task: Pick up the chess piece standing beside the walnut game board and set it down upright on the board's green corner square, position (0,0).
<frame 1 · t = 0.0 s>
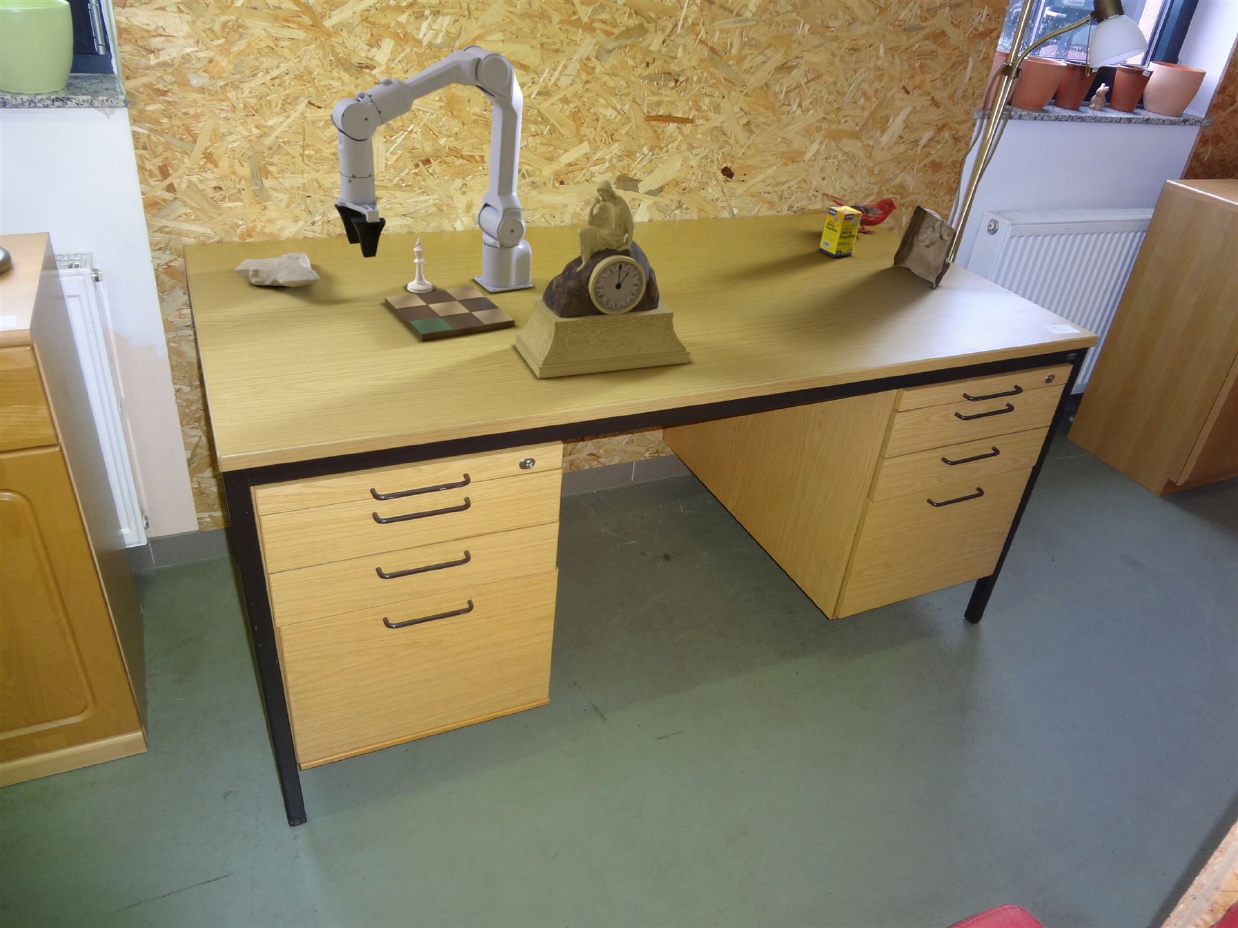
hand: (362, 249, 157), 10 cm above the table, tool pointing down, fingers open, 7 cm apart
chess piece: (420, 289, 170), on the table
game board: (448, 315, 161), on the table
decorative bird figurine: (858, 230, 235), on the table
decorative clock: (602, 355, 153), on the table
supplement box: (834, 253, 216), on the table
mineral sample: (918, 277, 206), on the table
rock: (278, 282, 167), on the table
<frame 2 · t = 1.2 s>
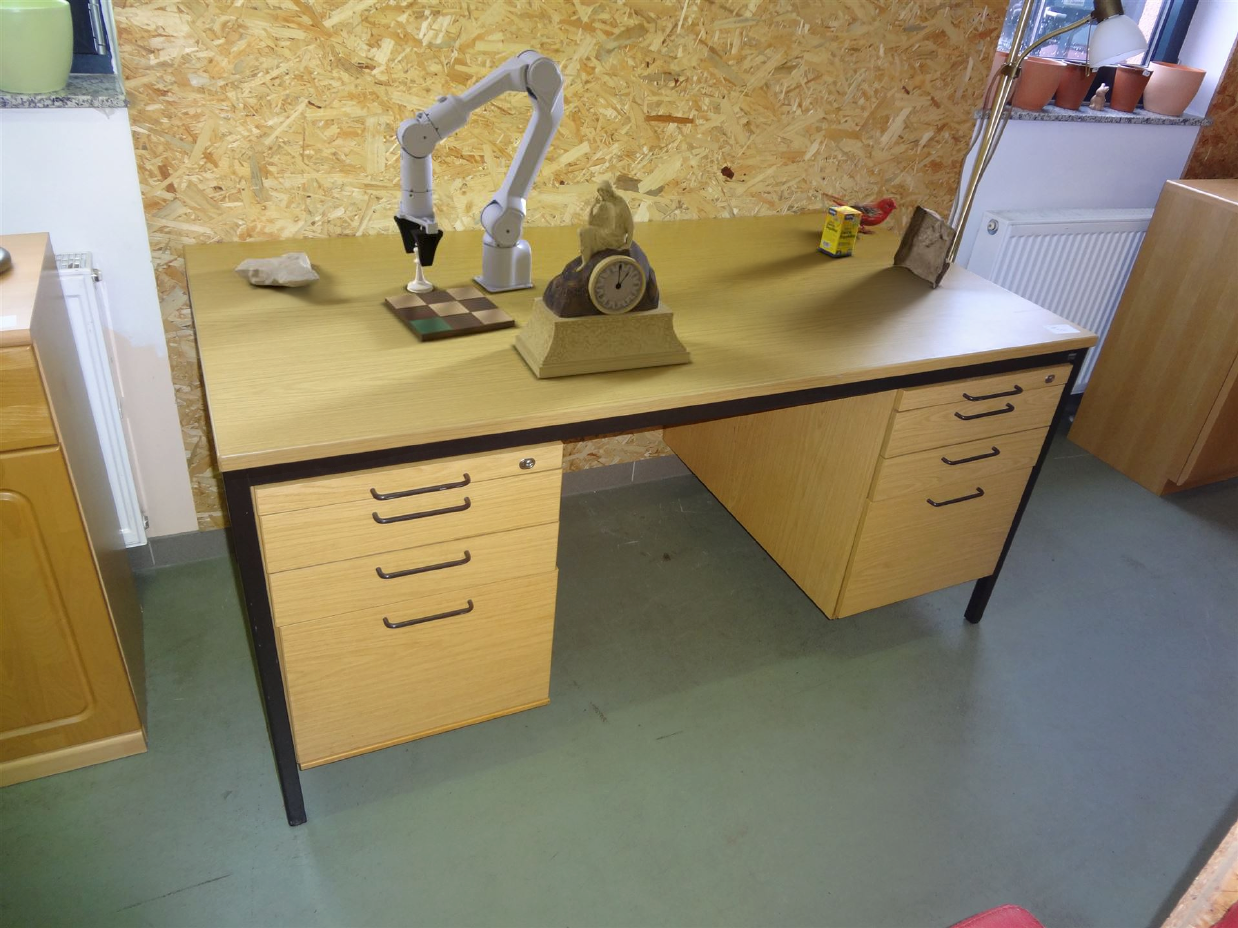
hand: (418, 259, 167), 6 cm above the table, tool pointing down, fingers open, 7 cm apart
nothing on the table moved.
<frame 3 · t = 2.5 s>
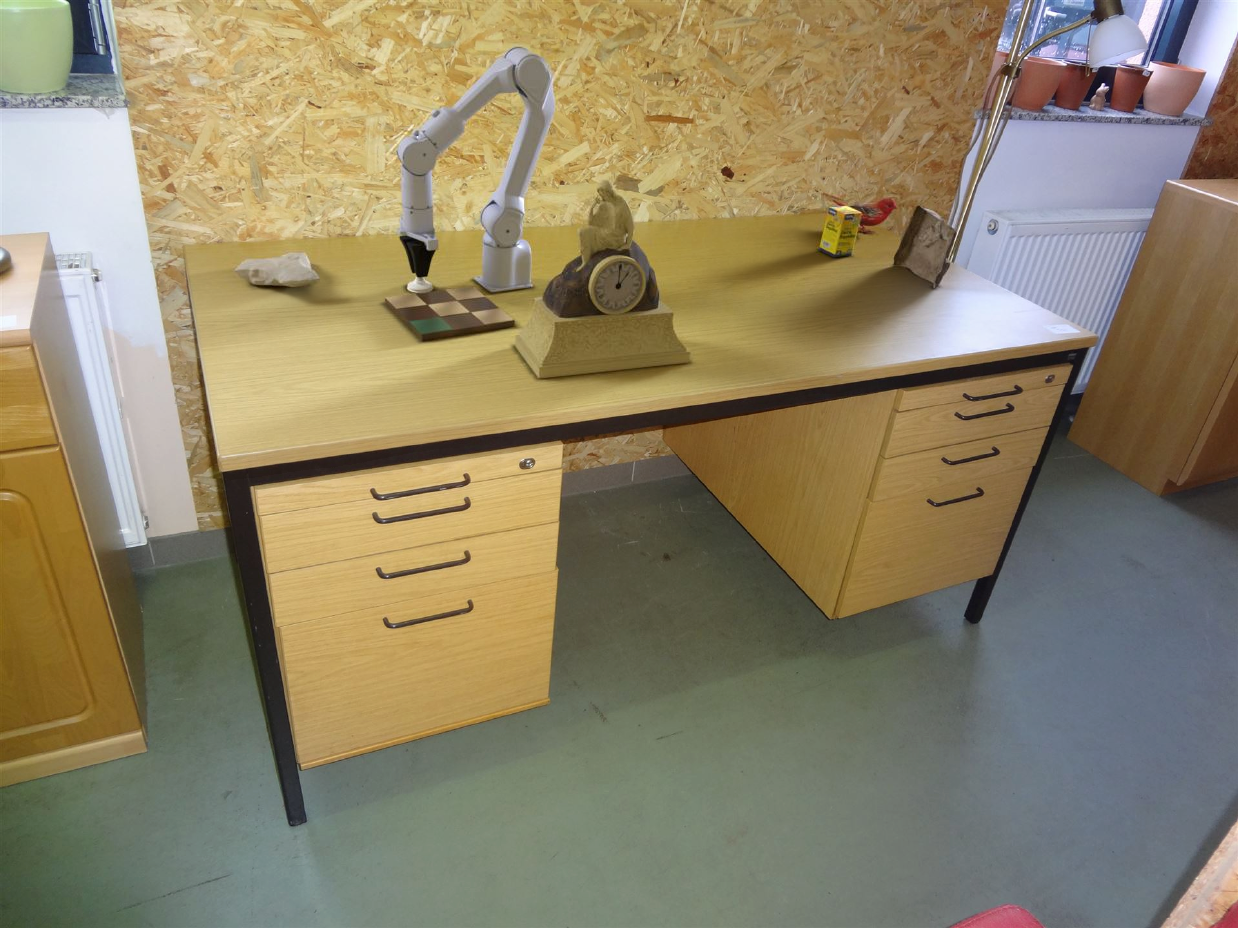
hand: (419, 274, 169), 3 cm above the table, tool pointing down, fingers closed on chess piece
chess piece: (420, 289, 170), on the table, touching gripper
everything else where it was.
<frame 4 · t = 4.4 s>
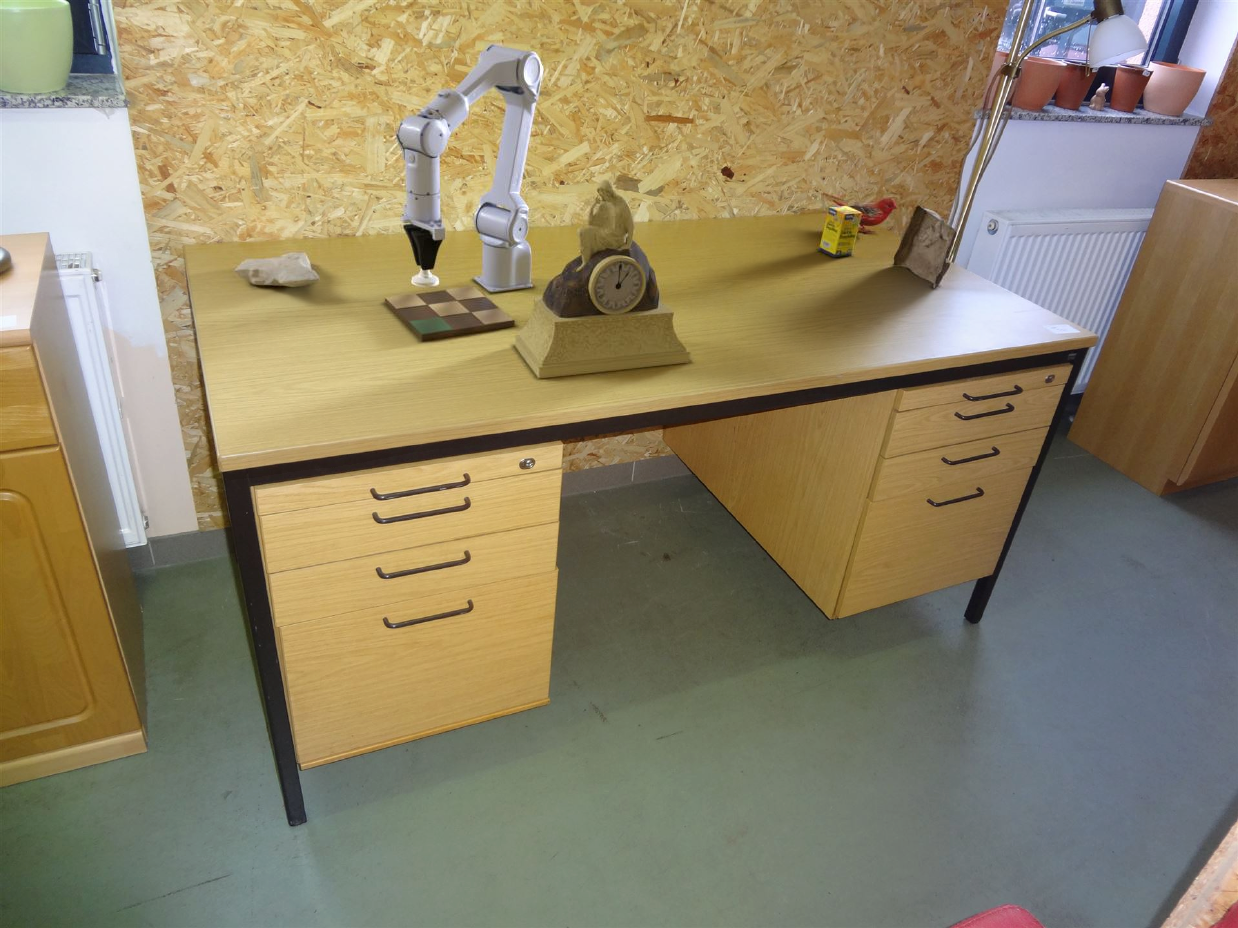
hand: (424, 267, 156), 9 cm above the table, tool pointing down, fingers closed on chess piece
chess piece: (425, 283, 157), point 6 cm above the table, touching gripper
everything else where it was.
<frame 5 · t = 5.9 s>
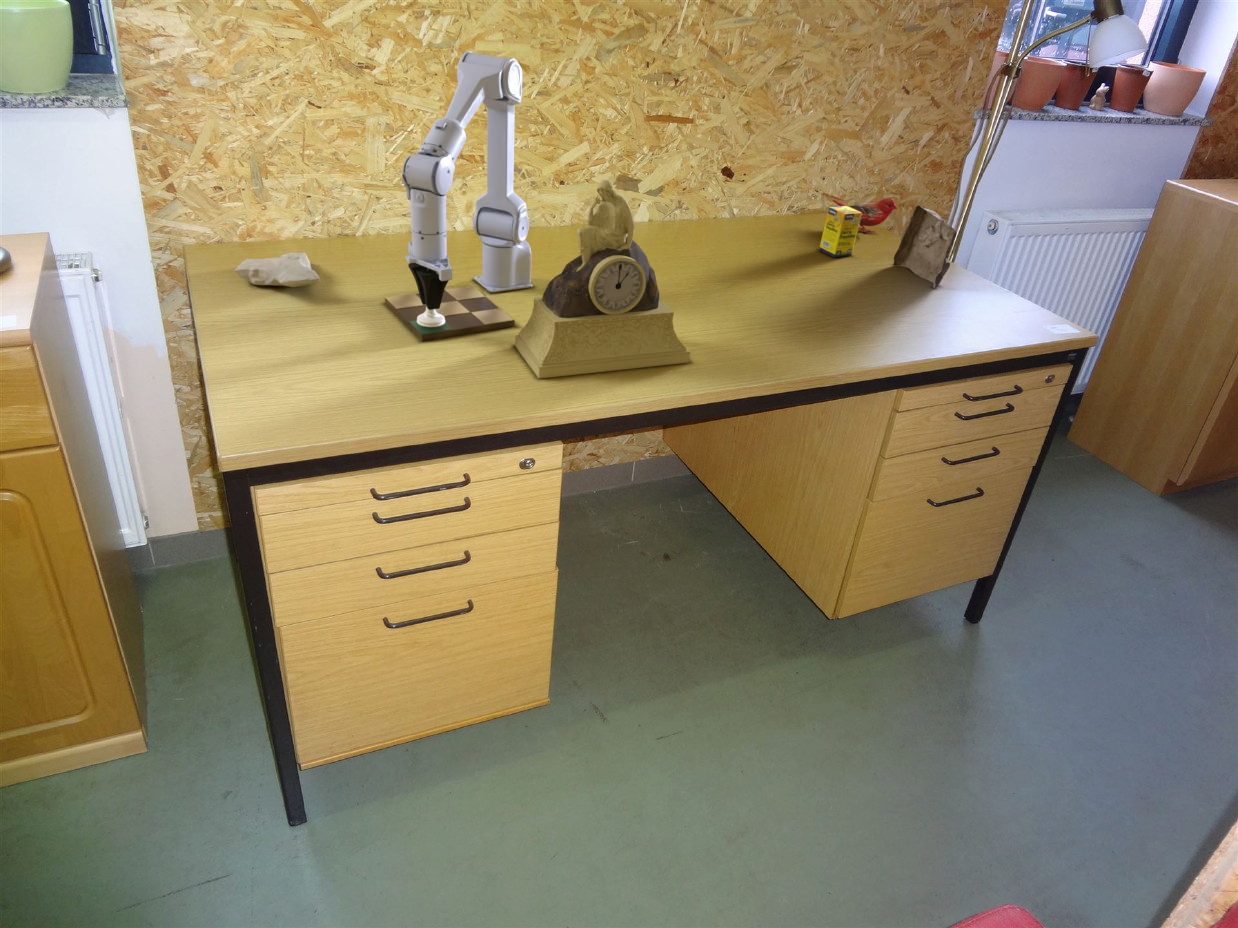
hand: (430, 306, 151), 5 cm above the table, tool pointing down, fingers closed on chess piece
chess piece: (431, 322, 153), point 2 cm above the table, touching gripper
everything else where it was.
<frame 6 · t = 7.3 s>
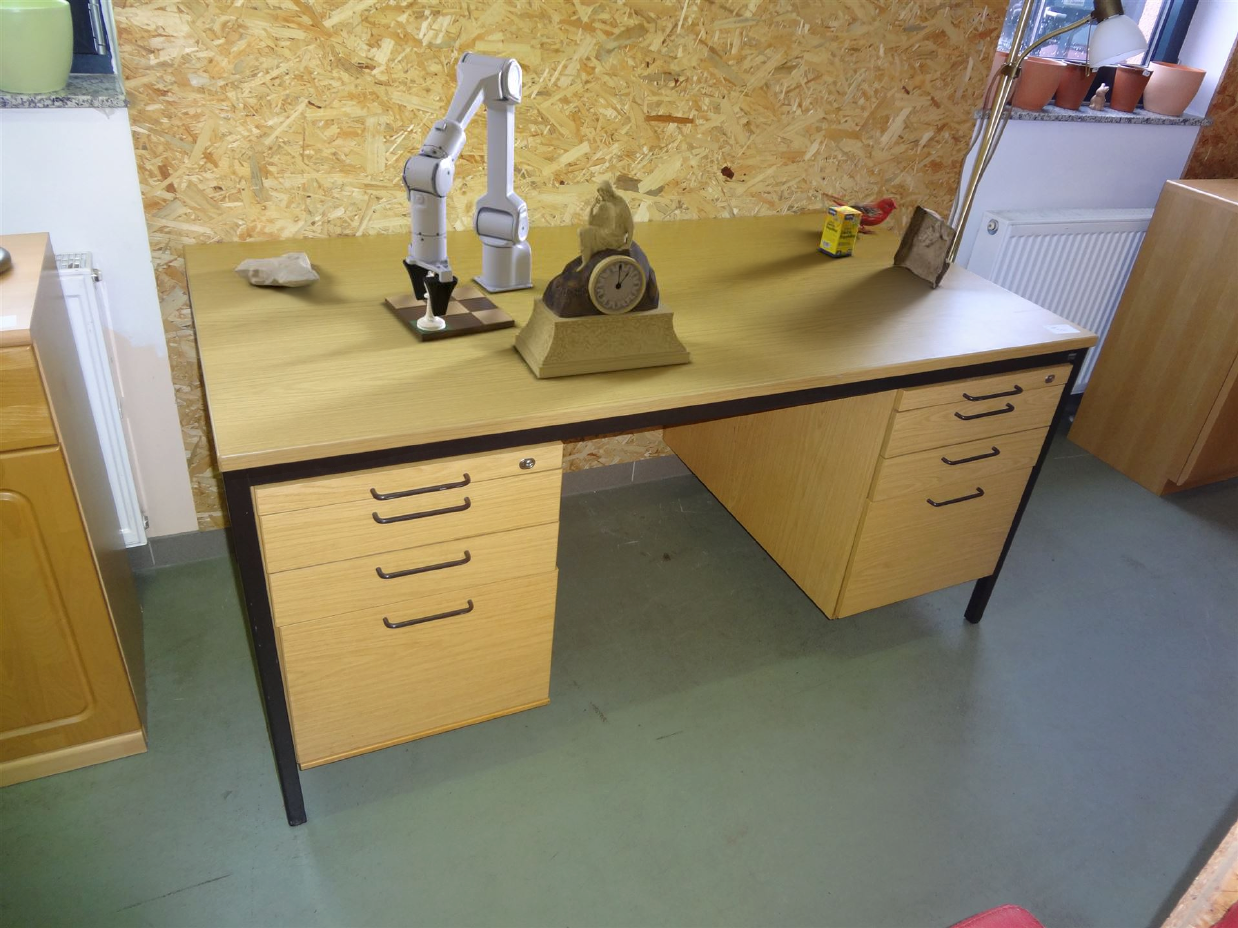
hand: (430, 307, 151), 5 cm above the table, tool pointing down, fingers open, 7 cm apart
chess piece: (431, 326, 153), point 1 cm above the table, touching game board
everything else where it was.
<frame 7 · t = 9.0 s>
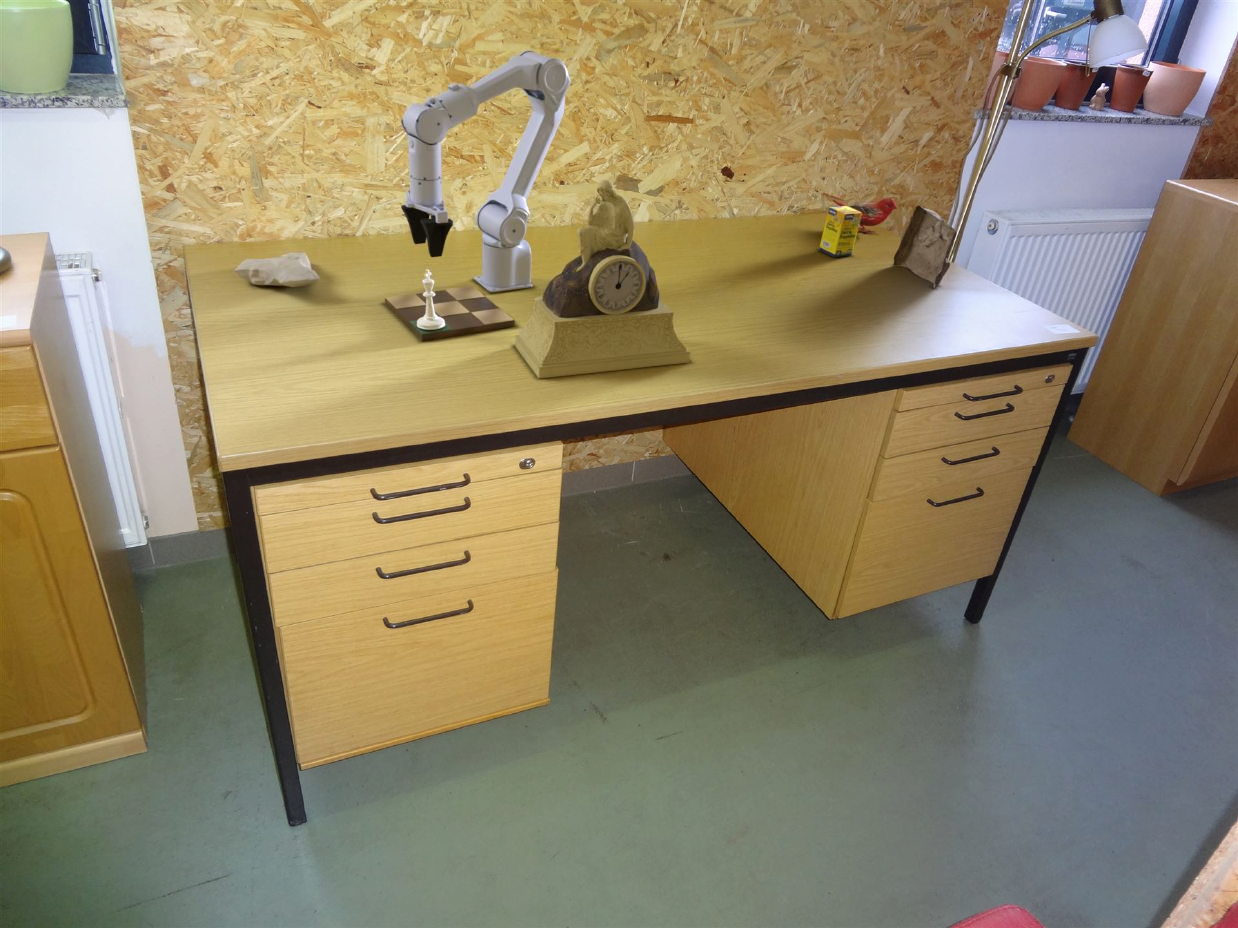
hand: (427, 249, 162), 9 cm above the table, tool pointing down, fingers open, 7 cm apart
nothing on the table moved.
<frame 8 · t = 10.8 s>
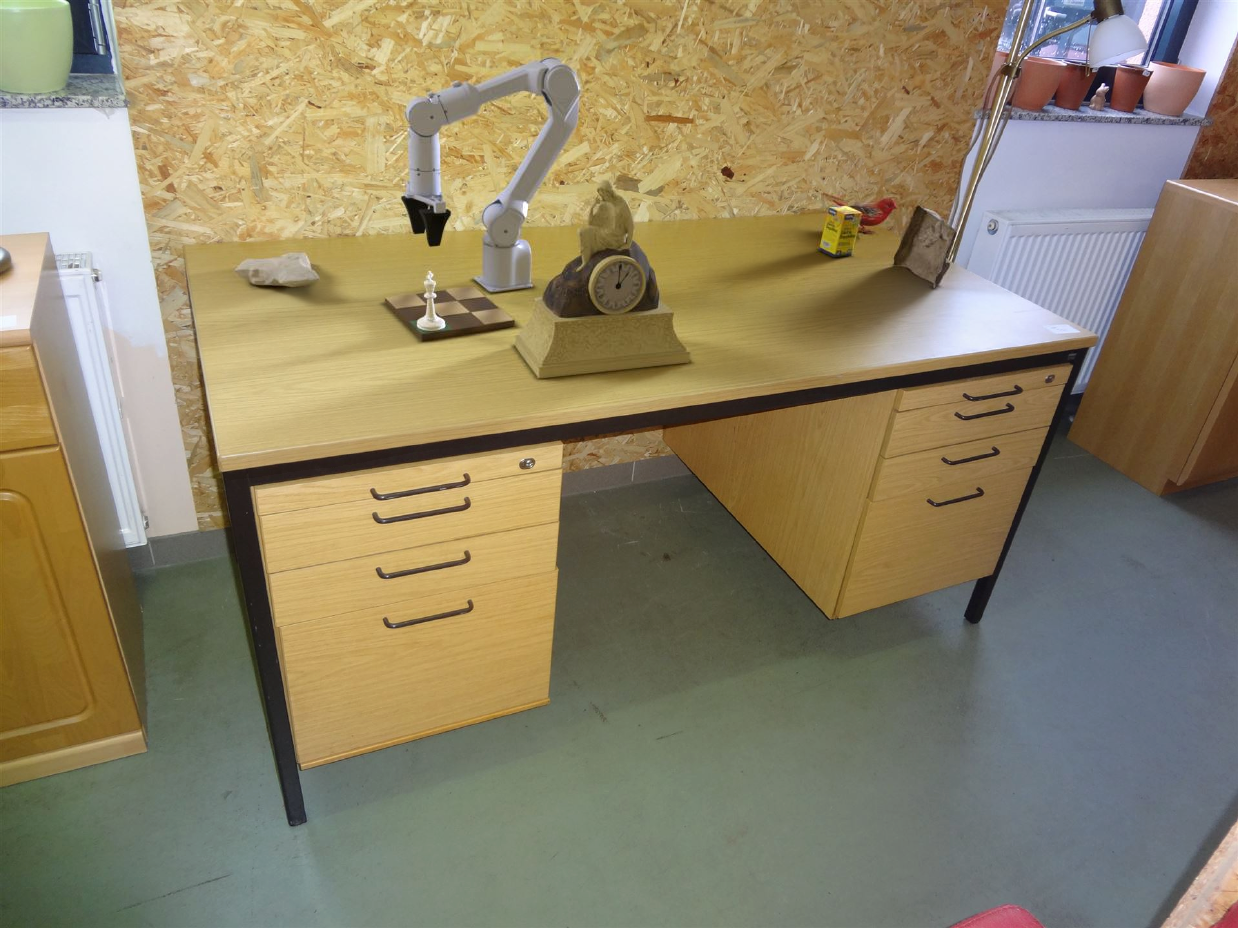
hand: (426, 239, 167), 9 cm above the table, tool pointing down, fingers open, 7 cm apart
nothing on the table moved.
at the end: chess piece 0.1 cm from the target spot on the game board, point 1.1 cm above the game board's base; chess piece tilted 0°; the gripper is holding nothing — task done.
